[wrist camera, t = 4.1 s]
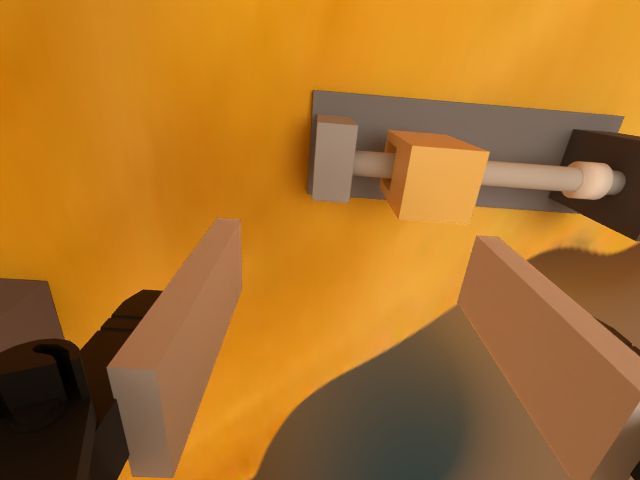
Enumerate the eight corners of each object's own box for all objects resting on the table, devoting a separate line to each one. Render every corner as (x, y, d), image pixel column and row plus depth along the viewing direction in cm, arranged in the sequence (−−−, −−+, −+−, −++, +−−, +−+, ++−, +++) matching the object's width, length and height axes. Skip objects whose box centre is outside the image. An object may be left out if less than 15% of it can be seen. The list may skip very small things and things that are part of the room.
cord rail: (307, 191, 37) (303, 236, 26) (313, 90, 33) (312, 93, 22) (577, 210, 38) (681, 261, 27) (616, 115, 34) (758, 130, 23)
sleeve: (378, 187, 31) (398, 219, 24) (387, 129, 29) (412, 145, 22) (433, 191, 31) (469, 224, 24) (445, 134, 29) (490, 151, 22)
